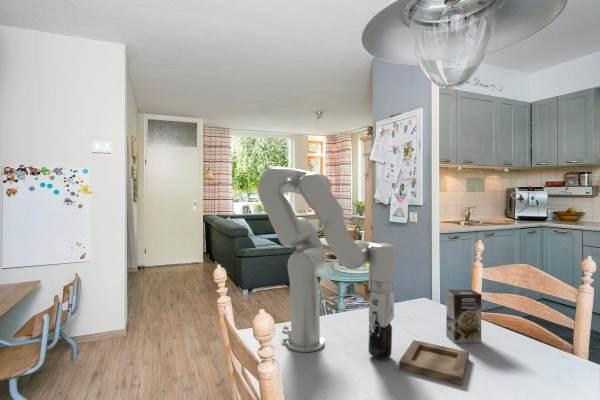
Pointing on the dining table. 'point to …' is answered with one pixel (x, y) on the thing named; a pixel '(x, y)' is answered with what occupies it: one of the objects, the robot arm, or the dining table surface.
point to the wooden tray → (435, 362)
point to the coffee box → (463, 316)
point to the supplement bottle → (383, 343)
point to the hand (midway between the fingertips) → (380, 342)
